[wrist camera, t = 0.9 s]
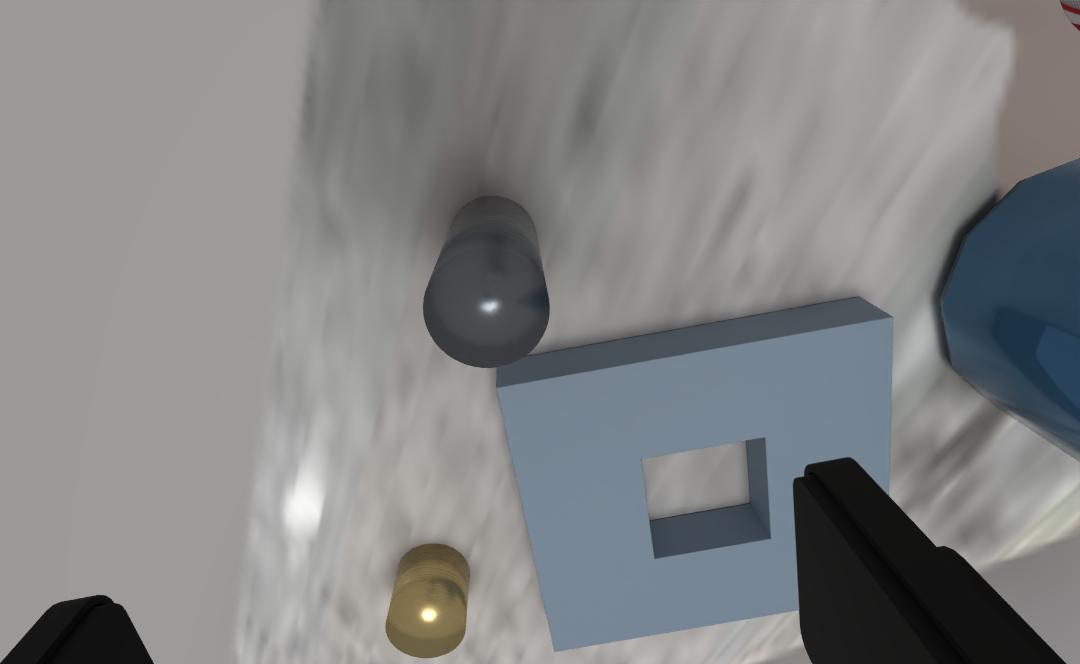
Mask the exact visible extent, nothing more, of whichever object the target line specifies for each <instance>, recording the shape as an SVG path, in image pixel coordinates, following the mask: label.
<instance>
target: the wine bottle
mask: <svg viewBox="0 0 1080 664" xmlns="http://www.w3.org/2000/svg"><path fill="white" fill-rule="evenodd" d="M940 307H941V313H942V319H943V324H944V330H945V336H946V342H947V347H948V353H949V358H950V361H951V363H952V366H953V369H954V370H955V371H956V372H957V373H959V374H960V375H961V376H962V377H963V378H964V379H965V380H966V381H968V382H969V383H970V384H971V385H972V386H973V387H974V388H975V389H976V390H978V391H979V392H980V393H981V394H982V395H983V396H984V397H985V398H986V399H988V400H989V401H990V402H991V403H992V404H993V405H994V406H995V407H997V408H998V409H1000V410H1001V411H1003V412H1004V413H1006V414H1007V415H1009V416H1011V417H1012V418H1014V419H1015V420H1017V421H1018V422H1020V423H1021V424H1023V425H1024V426H1026V427H1027V428H1029V429H1030V430H1032V431H1033V432H1035V433H1036V434H1038V435H1039V436H1041V437H1043V438H1044V439H1046V440H1047V441H1049V442H1050V443H1052V444H1053V445H1055V446H1056V447H1058V448H1059V449H1061V450H1062V451H1064V452H1065V453H1067V454H1068V455H1070V456H1071V457H1073V458H1075V459H1076V460H1078V461H1079V462H1080V158H1079V159H1077V160H1074V161H1072V162H1069V163H1067V164H1064V165H1061V166H1058V167H1056V168H1053V169H1051V170H1048V171H1045V172H1043V173H1040V174H1037V175H1035V176H1032V177H1030V178H1027V179H1024V180H1022V181H1019V182H1018V183H1017V184H1016V185H1015V187H1013V188H1012V189H1011V190H1010V191H1009V192H1008V193H1007V194H1006V195H1005V196H1004V197H1003V198H1002V199H1001V200H1000V201H999V202H998V203H997V204H996V205H995V206H994V207H993V208H992V209H991V210H990V211H989V212H988V213H987V214H986V215H985V216H984V217H983V218H982V219H981V220H980V221H979V222H978V223H977V224H976V225H975V226H974V227H973V228H972V229H971V230H970V231H969V232H968V233H967V234H966V235H965V236H964V238H963V240H962V243H961V246H960V248H959V251H958V254H957V256H956V259H955V262H954V264H953V267H952V269H951V272H950V275H949V277H948V280H947V283H946V285H945V288H944V290H943V293H942V296H941V298H940Z"/></svg>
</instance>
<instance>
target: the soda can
mask: <svg viewBox="0 0 1080 664" xmlns="http://www.w3.org/2000/svg"><path fill="white" fill-rule="evenodd" d="M1060 2H1061V5H1062V7H1063V9H1064V12H1065V14H1066V16H1067V17H1068V18H1069V20H1070V21H1071V23H1072V24H1073V25H1074V26H1075V27H1076V28H1077V29H1078V30H1079V31H1080V0H1060Z"/></svg>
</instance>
